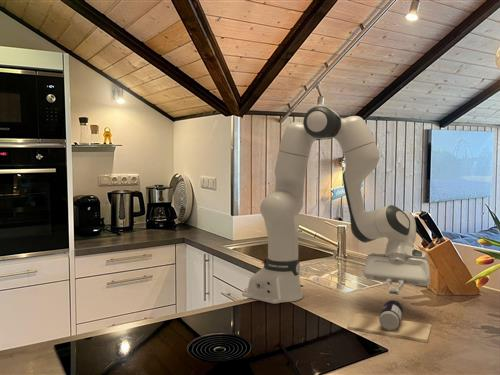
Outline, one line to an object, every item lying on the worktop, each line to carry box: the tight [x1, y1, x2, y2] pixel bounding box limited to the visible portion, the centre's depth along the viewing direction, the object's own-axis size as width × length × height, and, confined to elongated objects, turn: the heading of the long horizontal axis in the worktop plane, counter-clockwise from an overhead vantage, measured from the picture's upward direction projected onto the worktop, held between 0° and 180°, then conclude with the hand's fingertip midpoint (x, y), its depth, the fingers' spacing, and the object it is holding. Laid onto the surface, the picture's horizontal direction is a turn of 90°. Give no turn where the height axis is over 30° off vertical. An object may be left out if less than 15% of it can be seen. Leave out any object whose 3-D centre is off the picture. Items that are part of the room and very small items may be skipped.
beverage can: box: [378, 299, 404, 330], centre depth 129 cm, size 6×6×12 cm
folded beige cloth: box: [347, 312, 432, 344], centre depth 128 cm, size 22×12×1 cm, turn 63°
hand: (393, 293), depth 134 cm, fingers closed
